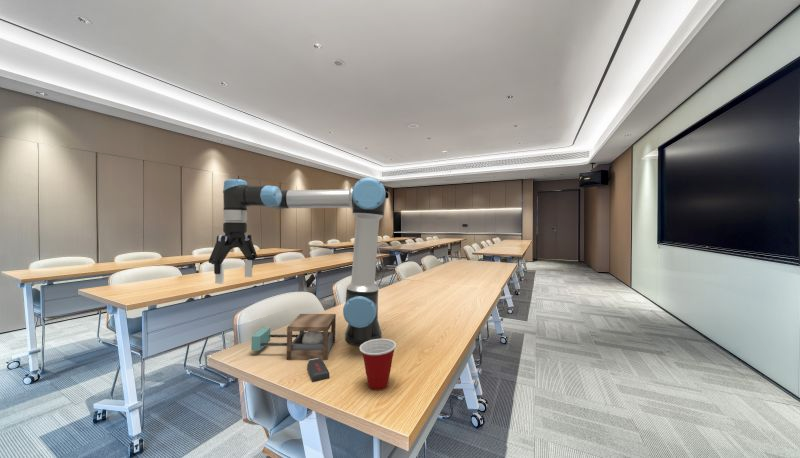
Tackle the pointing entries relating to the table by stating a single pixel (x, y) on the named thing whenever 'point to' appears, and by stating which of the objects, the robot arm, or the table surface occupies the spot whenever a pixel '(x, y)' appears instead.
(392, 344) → the plastic cup
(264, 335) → the long-handled grey tray
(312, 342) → the geometric ball
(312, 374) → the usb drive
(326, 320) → the shelf
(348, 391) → the table surface
